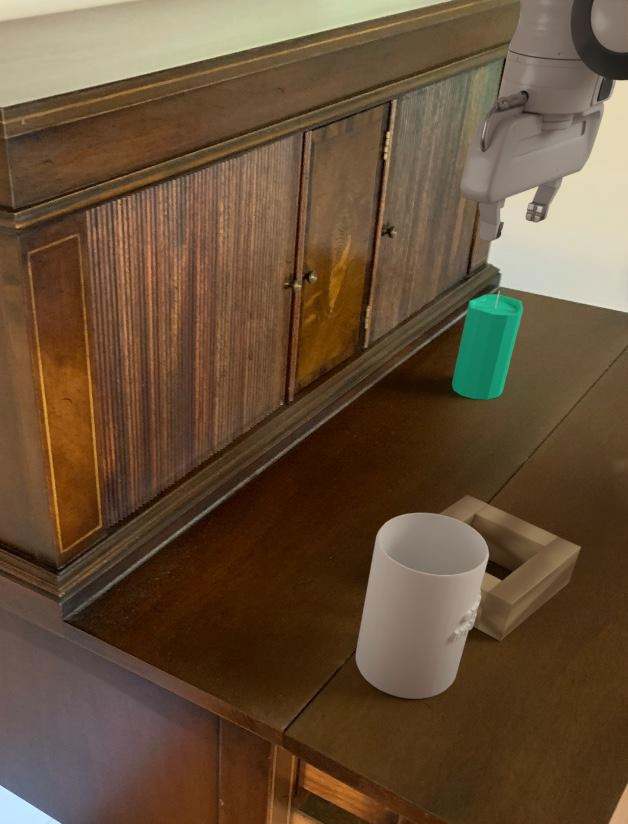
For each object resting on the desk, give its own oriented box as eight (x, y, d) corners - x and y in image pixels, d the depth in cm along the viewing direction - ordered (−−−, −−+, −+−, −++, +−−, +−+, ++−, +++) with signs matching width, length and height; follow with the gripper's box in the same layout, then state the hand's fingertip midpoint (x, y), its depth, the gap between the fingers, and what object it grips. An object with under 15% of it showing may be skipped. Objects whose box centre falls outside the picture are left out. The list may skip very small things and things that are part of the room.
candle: (489, 375, 114) (512, 279, 106) (511, 397, 110) (536, 299, 102) (443, 379, 113) (463, 282, 106) (463, 401, 109) (485, 302, 101)
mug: (465, 613, 79) (497, 495, 71) (456, 710, 70) (491, 586, 62) (368, 595, 80) (389, 478, 73) (348, 687, 72) (369, 564, 64)
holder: (568, 583, 82) (581, 546, 79) (500, 641, 76) (511, 604, 73) (459, 529, 88) (467, 494, 86) (387, 579, 82) (394, 543, 80)
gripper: (520, 106, 83) (485, 259, 92) (624, 78, 94) (584, 217, 103) (461, 94, 87) (433, 243, 96) (568, 68, 98) (534, 204, 107)
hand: (512, 229), depth 100 cm, fingers open, 8 cm apart
